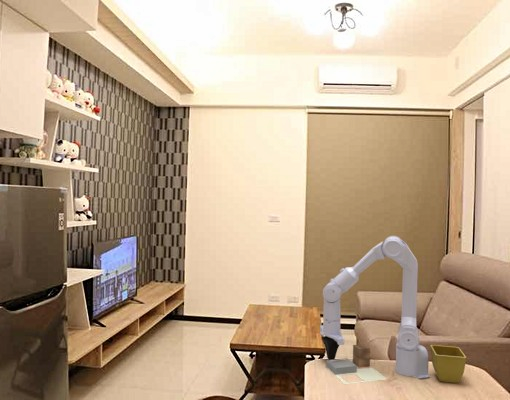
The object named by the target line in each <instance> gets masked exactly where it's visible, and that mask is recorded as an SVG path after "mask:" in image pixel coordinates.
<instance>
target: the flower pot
mask: <svg viewBox="0 0 510 400" xmlns="http://www.w3.org/2000/svg"><path fill="white" fill-rule="evenodd" d="M429 347H430V359H431V363H432V367H433V370H434V372H435V373H436V376H437V378H438V380H439V381H440V382H445V383H446V382H447V383H453V384H457V383H459V382H460V381H461V379H462V378H463V375H464V372H465V367H466V362H467V356H466V355H465V354H464V352H463V351H462V350H461V348H460V347H458V346H450V345H449V346H448V345H437V344H430V345H429Z"/></svg>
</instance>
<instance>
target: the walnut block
mask: <svg viewBox="0 0 510 400" xmlns="http://www.w3.org/2000/svg"><path fill="white" fill-rule="evenodd" d="M352 348H353V349H352V362H353V363H354V364H355V365H356V366H357V367H359V368H360V367H370V366H371V348H370V347H369V346H368V345H366V344H365V343H360V344H353V345H352Z"/></svg>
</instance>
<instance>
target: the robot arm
mask: <svg viewBox="0 0 510 400" xmlns="http://www.w3.org/2000/svg"><path fill="white" fill-rule="evenodd" d="M386 257H387V258H388V259H390V260H392V261H395V262H396V263H397V264H399V266H400V267H401V268H402V284H401V285H402V287H401V288H402V291H401V317H400V318H401V320H400V324H399V325H398V327H397V328H398V329H397V333H398V334H397V335H398V336H397V342H396V343H395V345H396V346H395V372H396V373H397V374H400V375H402V376H406V377H415V378H417V379H427V378H431V376H430V374H429V352H428V350H427V349H426V347H425V346H424V345H421V344H420V337H419V330H418V329H419V328H418V327H417V312H418V311H417V308H418V307H417V303H418V275H419V273H418V271H419V270H418V269H419V263H418V260H417V258H416V256H415V255H414V252H412V251H411V249H410V247H409V245H408V244H407V243H406V242H405V241H404V240H402V238H400V237H399V236H396V235H390V236H388V237H387V238H385V239H384V241H380V242H379V243H378V244H376V245H375V246H373V247H372V248H371V249H370V250H369V251H368V252H367V253H366V254H365V255H364V256H363V257H362V258H361V259H360V260H358V262H356V263H355V265H353V266H352V267H350V266H349V267H347V266H346V267H345V268H344V267H343V268H341V269H340V270H339V273H338V274H337V275H336V276H335V277H334V278H333V277H332V278H331V279H329V282H328V283H327V284H326V285H325V286H324V288H323V289H322V297H323V319H322V321H323V322H322V325H319V335H321V340H322V342H323V346H324V348H325V353H326V356H327V357H326V358H327V360H334V359H336V356H337V352H338V349H339V348H340V346H343V345H345V338H344V336H343V334H342V332H341V296H342V295H343V293H344V294H345V293H346V292H347V291H348V290H350V289H351V288H352V287H354V285H355V284H357V283H358V282H359V280H360V279H359V278H360V274H362V273H363V272H364V271H365V270H366V269H367V268H368V267H370V266H371V265H372V264H373V263H374V262H376V261H379V260H385V259H386Z"/></svg>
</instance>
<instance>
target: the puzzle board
mask: <svg viewBox="0 0 510 400" xmlns="http://www.w3.org/2000/svg"><path fill="white" fill-rule="evenodd" d="M325 368H326V369H327V370H329V371H330V373H331V374H332V375H334V376H335V377H336V378H337V379H338V380H339V381H341V382H342V384H343V385H352V384H359V383H360V384H361V383H370V382H377V381H386V380H388V378H387V377H385V376H384V375H383V374H381V373H380V371H377V369H375V368H373V367H372V365H370V367H360V368H359V367H357V372H354V373H345V374H336V375H335V374H334V373H333V372H332V371H331V370H330V369H329V368H327V367H326V366H325ZM353 374H355V375H356V376H357V377H359V378H360V379H361V380H360V381H352V382H347V381H346V380H345V379H344V378H343V377H342V376H344V375H345V376H346V375H353Z"/></svg>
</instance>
